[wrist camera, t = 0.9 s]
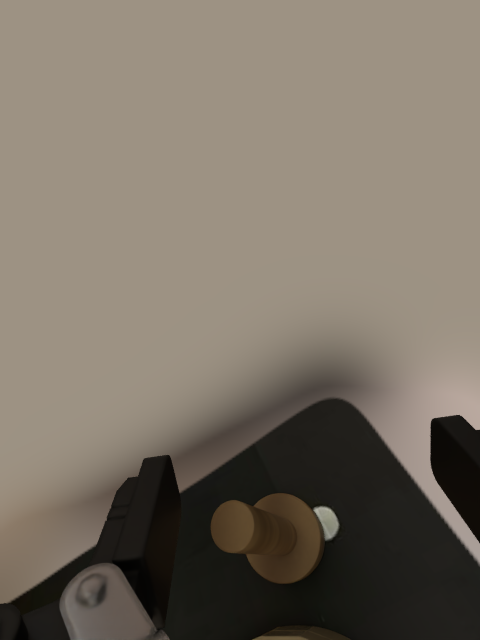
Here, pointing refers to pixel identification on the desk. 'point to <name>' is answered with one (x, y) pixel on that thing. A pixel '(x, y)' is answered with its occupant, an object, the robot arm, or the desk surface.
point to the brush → (272, 536)
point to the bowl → (300, 633)
